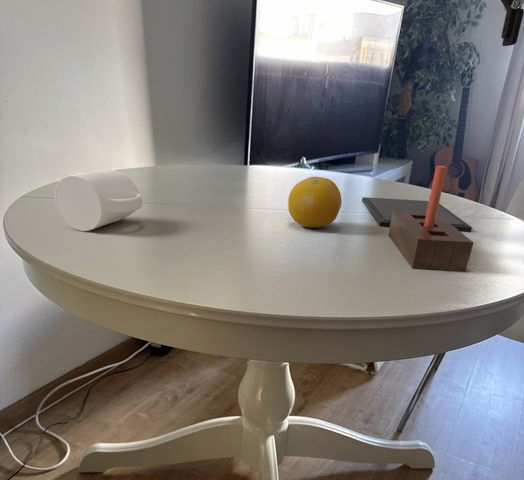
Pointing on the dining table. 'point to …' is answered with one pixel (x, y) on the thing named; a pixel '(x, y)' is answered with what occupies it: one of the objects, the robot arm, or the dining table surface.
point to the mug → (96, 198)
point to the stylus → (435, 196)
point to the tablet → (385, 207)
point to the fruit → (314, 202)
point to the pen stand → (429, 242)
